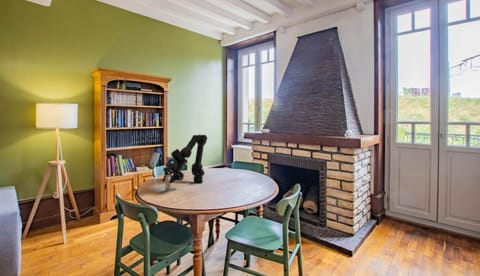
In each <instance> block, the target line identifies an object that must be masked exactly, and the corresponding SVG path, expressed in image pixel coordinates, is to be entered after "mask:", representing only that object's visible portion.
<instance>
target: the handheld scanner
mask: <svg viewBox="0 0 480 276" xmlns="http://www.w3.org/2000/svg"><path fill="white" fill-rule="evenodd" d="M166 162H169V163H172V162H174V163H176V160H175V159H174V158H173V157H172V156H166ZM167 168H170V167H167ZM170 170H171V169H170ZM172 177H173V173H172V174H171V178H172ZM183 179H184V177H183V178H180V179H178V180H177V181H182V180H183Z"/></svg>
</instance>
